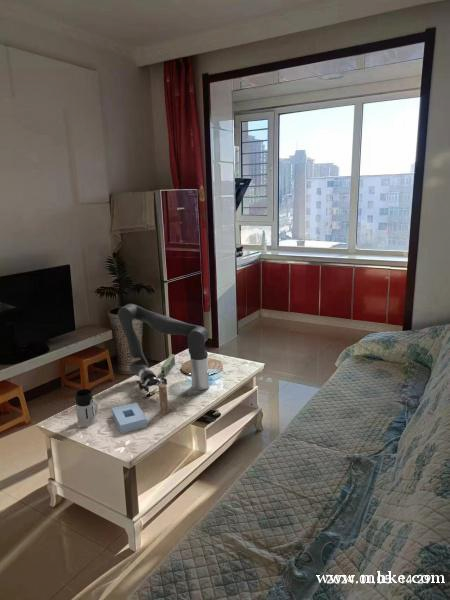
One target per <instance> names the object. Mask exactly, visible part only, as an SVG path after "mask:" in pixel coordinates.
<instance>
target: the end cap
mask: <svg viewBox="0 0 450 600" xmlns="http://www.w3.org/2000/svg"><path fill="white" fill-rule="evenodd" d="M111 415H112V417H113V420H114V422H115V424H116V426H117V428H118V430H119V432H120V434H125V433H129V432H132V431H135V430H139V429H140V430H141V429H143V428H147V427H148V418H147V417H146V415H145V414H144V412H143V410H142V409H141V408H140V406H139V405H138V402H133V403H132V402H131V403H128V404H127V403H126V404H123V405H120V406H115V407H111Z"/></svg>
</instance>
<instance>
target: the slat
mask: <svg viewBox="0 0 450 600" xmlns="http://www.w3.org/2000/svg"><path fill="white" fill-rule="evenodd" d="M158 394H159V395H158V396H159V397H158V398H159V405H160V406H159V407H160V408H159V409H160V413H161V414H162V415H163V416H165V415H168V414H169V402H168V388H167V385H166V386H165V384H164V383H162V382H161V384H159V386H158Z"/></svg>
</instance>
